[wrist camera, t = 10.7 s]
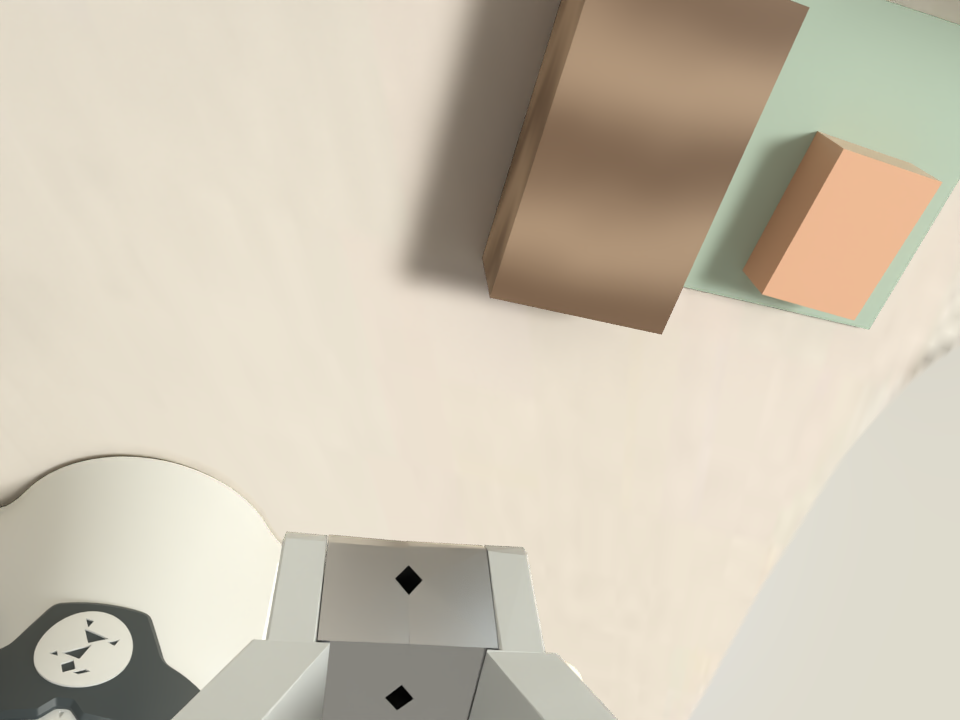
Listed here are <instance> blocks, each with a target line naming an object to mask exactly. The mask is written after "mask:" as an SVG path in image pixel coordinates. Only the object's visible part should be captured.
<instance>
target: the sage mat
mask: <svg viewBox="0 0 960 720" xmlns="http://www.w3.org/2000/svg"><path fill="white" fill-rule="evenodd" d="M791 1H794V2H797V3H799V4H802V5H805V6H807V7H810V8H809V10H808V12H807V15H806V17H805V19H804V21H803V23H802V26H801V28H800V30H799V32H798V35H797V37H796V39H795V41H794V43H793V46H792V48H791V50H790V52H789V54H788V57H787V59H786V61H785V63H784V65H783V68H782V70H781V72H780V74H779V76H778V79H777V81H776V83H775V85H774V87H773V90H772V92H771V94H770V96H769V99H768V101H767V103H766V105H765V107H764V110H763V112H762V114H761V116H760V118H759V121H758V123H757V125H756V127H755V129H754V132H753V134H752V136H751V138H750V140H749V143H748V145H747V147H746V149H745V151H744V154H743V156H742V158H741V160H740V163H739V165H738V167H737V169H736V171H735V174H734V176H733V178H732V180H731V182H730V185H729V187H728V189H727V191H726V193H725V196H724V198H723V200H722V202H721V204H720V207H719V209H718V211H717V213H716V216H715V218H714V220H713V222H712V224H711V227H710V229H709V231H708V233H707V235H706V238H705V240H704V242H703V244H702V246H701V249H700V251H699V253H698V255H697V257H696V260H695V262H694V264H693V266H692V268H691V271H690V273H689V275H688V277H687V280H686V282H685V284H684V286H683V287H686V288H691V289H695V290H699V291H704V292H708V293H712V294H717V295H721V296H726V297H730V298H734V299H739V300H743V301H747V302H752V303H756V304H760V305H765V306H769V307H773V308H778V309H782V310H786V311H791V312H795V313H799V314H804V315H808V316H812V317H817V318H821V319H825V320H830V321H834V322H839V323H843V324H847V325H852V326H856V327H860V328H865V329H870V327H871V326H872V324H873V322H874V321H875V319H876V317H877V316H878V314H879V312H880V311H881V309H882V307H883V306H884V304H885V302H886V301H887V299H888V297H889V296H890V294H891V292H892V291H893V289H894V287H895V286H896V284H897V282H898V281H899V279H900V277H901V276H902V274H903V272H904V271H905V269H906V267H907V266H908V264H909V262H910V261H911V259H912V257H913V256H914V254H915V252H916V251H917V249H918V247H919V246H920V244H921V242H922V241H923V239H924V237H925V236H926V234H927V232H928V231H929V229H930V227H931V226H932V224H933V222H934V221H935V219H936V217H937V216H938V214H939V212H940V211H941V209H942V207H943V206H944V204H945V202H946V201H947V199H948V197H949V196H950V194H951V192H952V191H953V189H954V187H955V186H956V184H957V182H958V181H959V179H960V25H958V24H955V23H952V22H949V21H946V20H943V19H940V18H937V17H934V16H931V15H928V14H925V13H922V12H919V11H916V10H913V9H910V8H907V7H904V6H901V5H898V4H895V3H892V2H889V1H886V0H791ZM817 131H819V132H822V133H825V134H827V135H830V136H833V137H836V138H839V139H842V140H845V141H848V142H851V143H854V144H857V145H859V146H862V147H865V148H868V149H871V150H874V151H877V152H880V153H883V154H886V155H888V156H891V157H894V158H897V159H900V160H903V161H906V162H909V163H912V164H913V165H915V166H916V167H918V168H920V169H921V170H923V171H925V172H926V173H928V174H930V175H931V176H933V177H935V178H936V179H938V180H940V181H941V182H942V184H941V186H940V187H939V189H938V190H937V192H936V193H935V195H934V197H933V198H932V200H931V201H930V203H929V204H928V206H927V208H926V209H925V211H924V212H923V214H922V215H921V217H920V218H919V220H918V222H917V223H916V225H915V226H914V228H913V229H912V231H911V233H910V234H909V236H908V237H907V239H906V240H905V242H904V244H903V245H902V247H901V248H900V250H899V251H898V253H897V255H896V256H895V258H894V259H893V261H892V262H891V264H890V266H889V267H888V269H887V270H886V272H885V273H884V275H883V276H882V278H881V280H880V281H879V283H878V284H877V286H876V287H875V289H874V291H873V292H872V294H871V295H870V297H869V298H868V300H867V302H866V303H865V305H864V306H863V308H862V309H861V311H860V313H859V314H858V316H857V317H856V319H855V320H851V319H847V318H843V317H840V316H836V315H833V314H829V313H826V312H822V311H819V310H815V309H812V308H808V307H805V306H801V305H798V304H794V303H791V302H787V301H784V300H780V299H776V298H773V297H769V296H766V295H762V294H761V293H760V291H759V290H758V289H757V288H756V286H755V285H754V284H753V283H752V282H751V280H750V279H749V278H748V277H747V275H746V274H745V273H744V272H743V271H742V270H743V268H744V266H745V265H746V263H747V261H748V259H749V257H750V255H751V253H752V252H753V250H754V248H755V246H756V244H757V242H758V240H759V239H760V237H761V235H762V233H763V231H764V229H765V227H766V226H767V224H768V222H769V220H770V218H771V216H772V215H773V213H774V211H775V209H776V207H777V205H778V203H779V202H780V200H781V198H782V196H783V194H784V192H785V190H786V189H787V187H788V185H789V183H790V181H791V179H792V177H793V176H794V174H795V172H796V170H797V168H798V166H799V165H800V163H801V161H802V159H803V157H804V155H805V153H806V152H807V150H808V148H809V146H810V144H811V142H812V140H813V139H814V137H815V135H816V133H817Z"/></svg>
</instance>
